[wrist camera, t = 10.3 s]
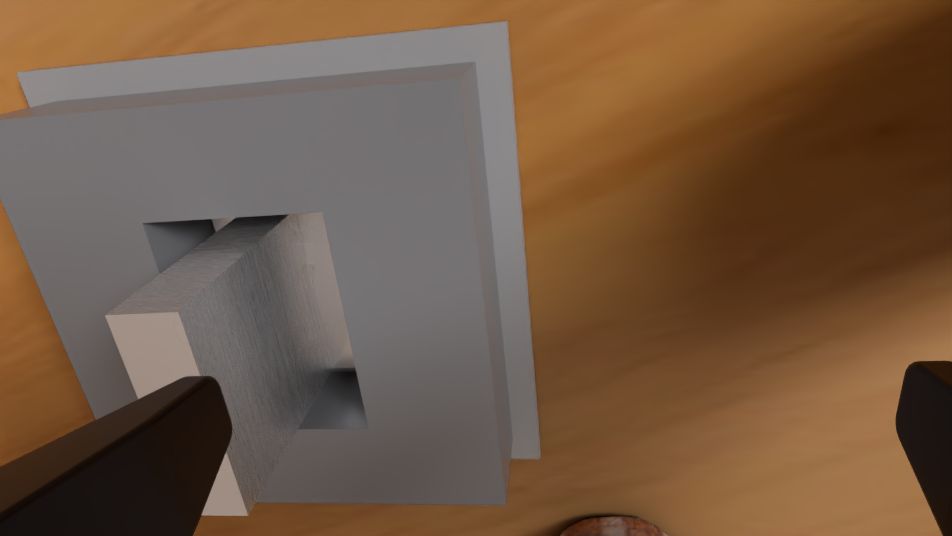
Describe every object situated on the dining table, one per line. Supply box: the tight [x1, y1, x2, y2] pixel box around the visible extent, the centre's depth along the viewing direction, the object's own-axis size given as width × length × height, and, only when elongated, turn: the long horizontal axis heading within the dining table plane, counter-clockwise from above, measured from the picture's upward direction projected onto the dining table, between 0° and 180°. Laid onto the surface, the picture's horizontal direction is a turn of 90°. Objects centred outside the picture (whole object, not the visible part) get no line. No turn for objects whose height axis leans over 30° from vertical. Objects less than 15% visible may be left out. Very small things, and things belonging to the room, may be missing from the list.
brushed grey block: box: [105, 212, 355, 516], centre depth 19 cm, size 4×6×8 cm, turn 6°
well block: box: [0, 21, 541, 506], centre depth 21 cm, size 16×16×4 cm
